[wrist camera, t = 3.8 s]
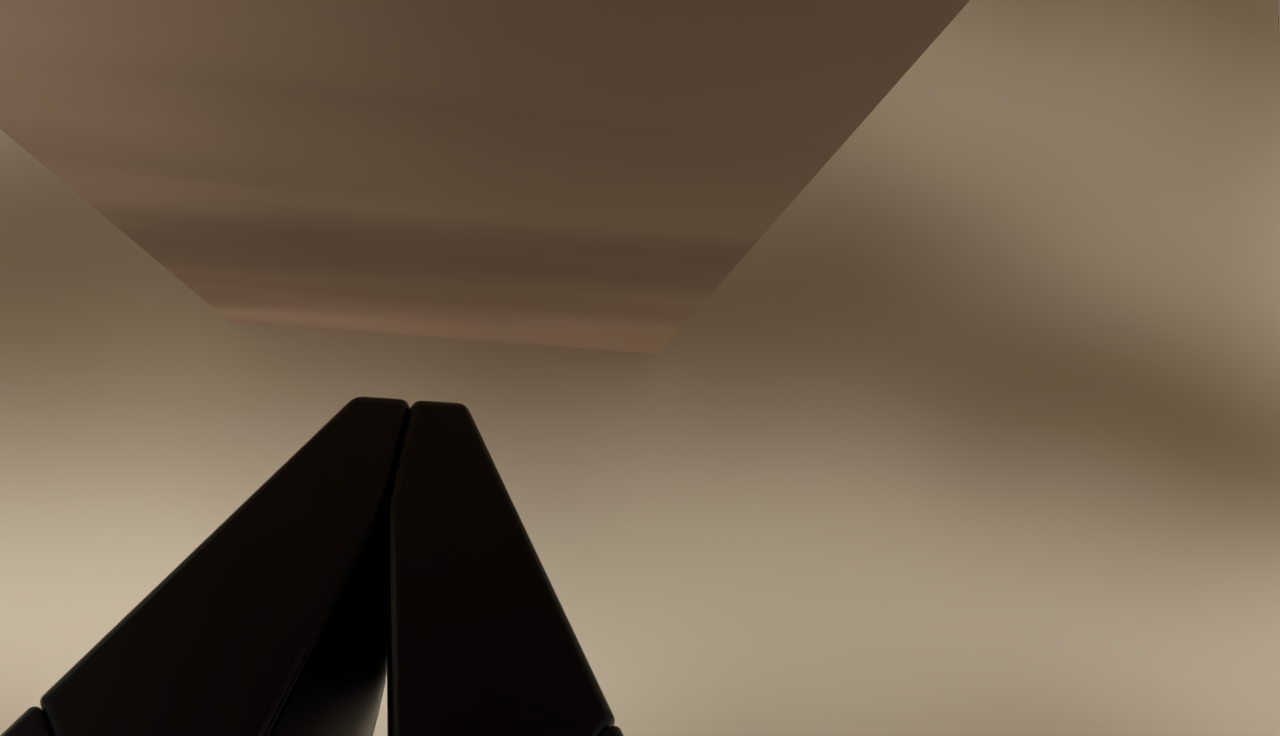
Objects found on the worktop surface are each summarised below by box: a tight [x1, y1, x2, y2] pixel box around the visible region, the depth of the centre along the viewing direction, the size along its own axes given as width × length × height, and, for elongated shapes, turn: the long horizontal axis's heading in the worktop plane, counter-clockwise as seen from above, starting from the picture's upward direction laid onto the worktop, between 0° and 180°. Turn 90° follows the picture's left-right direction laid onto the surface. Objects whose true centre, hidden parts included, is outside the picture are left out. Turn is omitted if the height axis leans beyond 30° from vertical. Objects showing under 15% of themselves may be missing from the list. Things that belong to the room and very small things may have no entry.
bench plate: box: [0, 0, 1280, 736], centre depth 14 cm, size 14×22×3 cm, turn 87°
